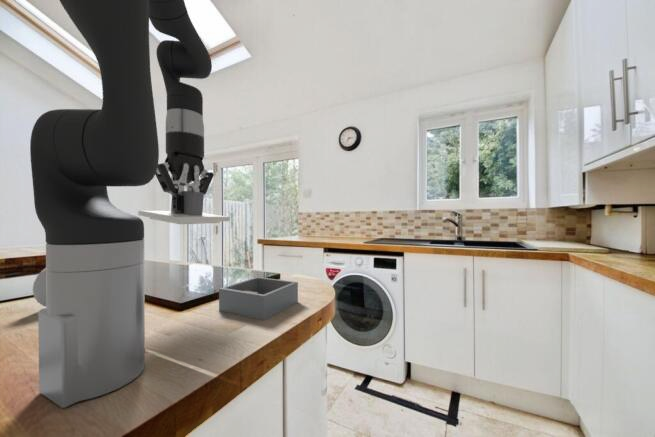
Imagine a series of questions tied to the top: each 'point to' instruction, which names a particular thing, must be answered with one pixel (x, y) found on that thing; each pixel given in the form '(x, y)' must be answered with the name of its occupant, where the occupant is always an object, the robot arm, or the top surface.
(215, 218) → the lid
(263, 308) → the box
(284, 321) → the top surface
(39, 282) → the donut
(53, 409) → the top surface
